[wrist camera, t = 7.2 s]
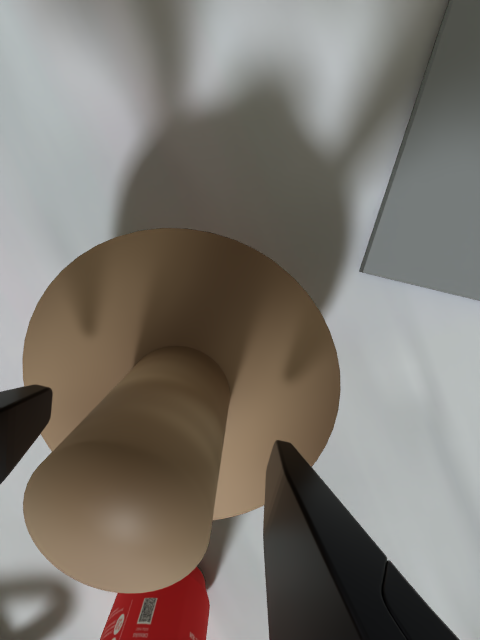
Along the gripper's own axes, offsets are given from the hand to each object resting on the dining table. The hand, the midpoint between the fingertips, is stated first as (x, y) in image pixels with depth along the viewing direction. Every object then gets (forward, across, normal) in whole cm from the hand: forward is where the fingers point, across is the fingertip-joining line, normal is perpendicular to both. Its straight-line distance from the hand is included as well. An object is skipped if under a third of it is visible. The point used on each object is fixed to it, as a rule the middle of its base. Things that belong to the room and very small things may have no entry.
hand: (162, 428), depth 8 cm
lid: (+2, 0, 0) cm, 3 cm away
